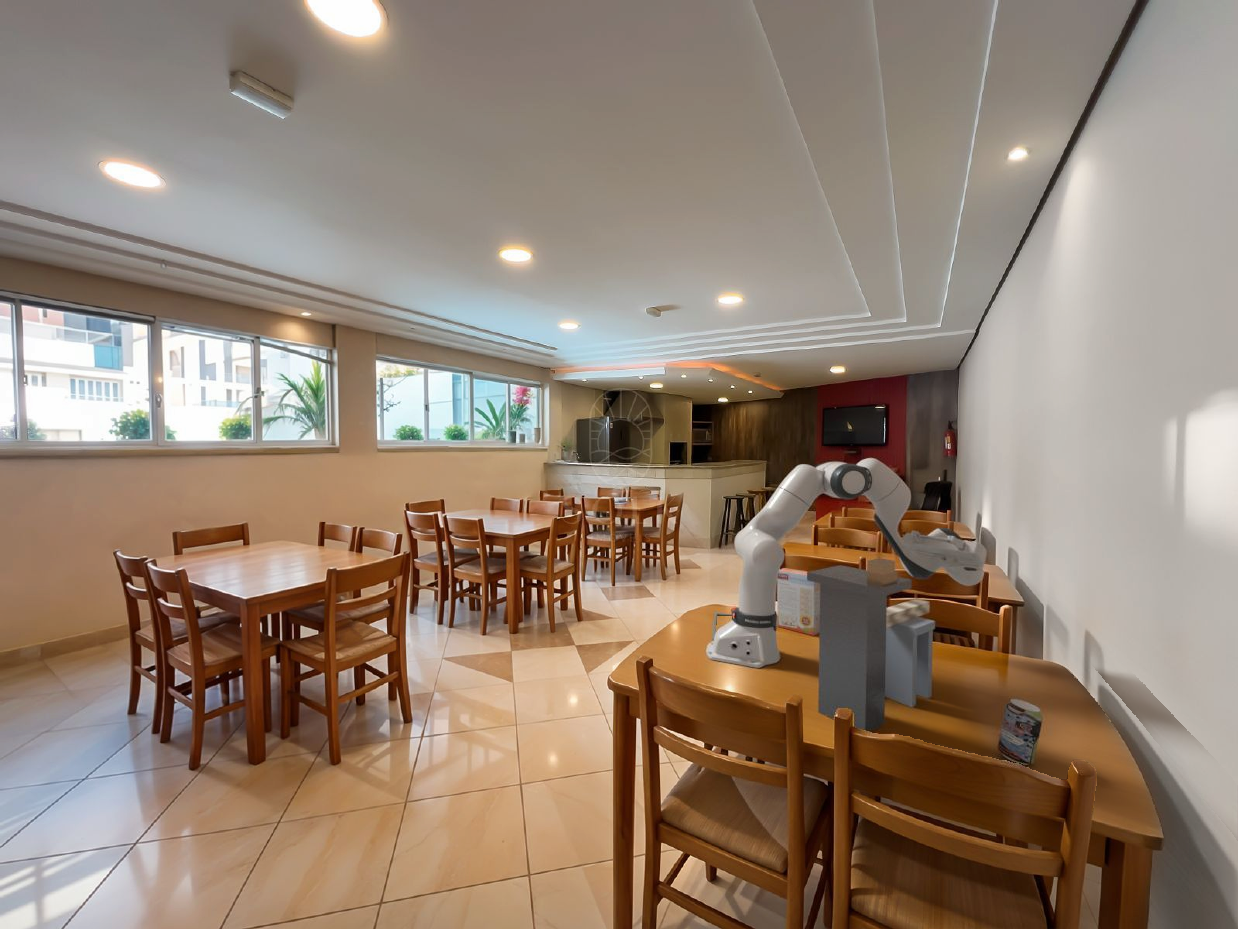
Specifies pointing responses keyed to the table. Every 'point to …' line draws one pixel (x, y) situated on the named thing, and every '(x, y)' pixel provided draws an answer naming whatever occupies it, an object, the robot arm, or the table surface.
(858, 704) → the steel pedestal
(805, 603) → the cracker box
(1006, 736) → the beverage can
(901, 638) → the slate trestle
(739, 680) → the table surface
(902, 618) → the birch slat
